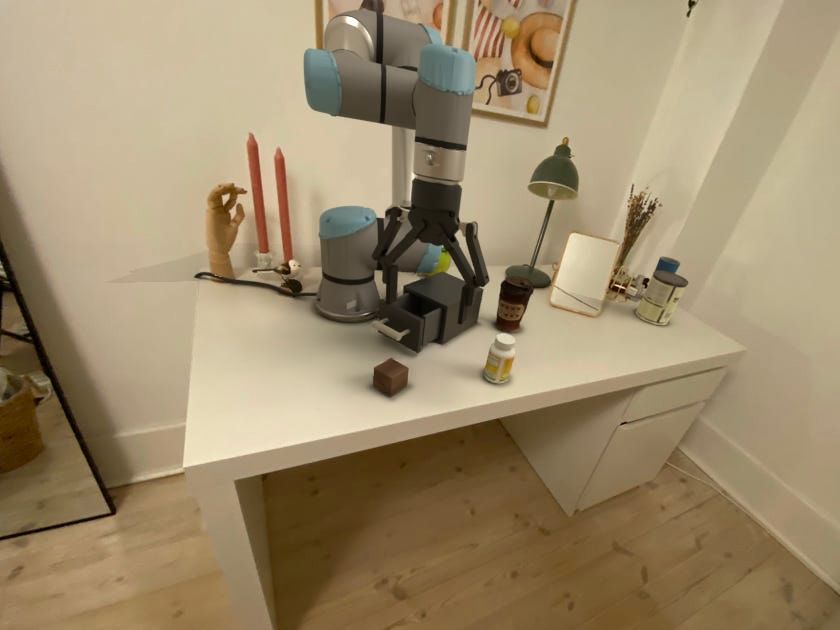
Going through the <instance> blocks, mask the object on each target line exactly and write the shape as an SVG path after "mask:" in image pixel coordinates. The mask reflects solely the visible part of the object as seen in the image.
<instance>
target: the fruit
mask: <svg viewBox="0 0 840 630" xmlns="http://www.w3.org/2000/svg"><path fill="white" fill-rule="evenodd" d="M451 264H452V258H451V256H450V254H449V253H448V252H447V251H446V250H445V248H444V247H443V246H442V249H441V254H440V258H439V262H438V264H437V267H436V268H435V270H434V271H433V272H431V273H425V274H426V276H427V277H428V276H431V275H434V274H436V273H439V272H442V271H443V272H445V273H447V272H448V271H449V269H450V267H451Z"/></svg>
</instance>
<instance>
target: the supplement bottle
mask: <svg viewBox="0 0 840 630" xmlns="http://www.w3.org/2000/svg"><path fill="white" fill-rule="evenodd" d="M515 345H516V339H515V337H514V336H513V335H511V334H509V333H504V332H503V333H498V334H496V336H495V339H494V342H493V343H491V344H490V346H489V349H488V352H487V353H488V354H487V358H486V362H485V366H484V370H483V376H484V378H485V380H487V381H488V382H491V383H493V384H503V383H506V382H507V381H508V380H509V378H510V374H511V370H512V368H513V367H512V366H513V363H514V360H515V357H516V348H515Z"/></svg>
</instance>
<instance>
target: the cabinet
mask: <svg viewBox="0 0 840 630" xmlns="http://www.w3.org/2000/svg"><path fill="white" fill-rule="evenodd" d="M464 285H466V282H465V281H464V279H463V278H459V277H457V276H455V275H452V274H451V273H447V272H446V273H445V272H443V271H442V272H439V273H436V274H434V275H431V276H428V275H427V276H426V277H425V276H424V277H422V278H420V279H418V280H415V281H412V282H409V283H406V284H404V285H402V295H403V294H405V293H408V292H410V293H412V294H415V295H417V296H419V297H421V298H423V299H425V300H427V301H429V302H431V303H433V304H436V305H438V306H440V307H442V308H444V314H443V321H442V329H441V336H439V337H438V338H436V339H434V340H433V341H435V342H437V343H438V344H441V345H444V344H446V343H447V342H449V341H450V340H452V339H454V338H456V337H457V336H459V335H460V334H462V333H464V332H465V331H467V330H469V329H470V328H472V327H473V326H475V325H477V324H478V320H479V314H480V311H481V310H480V309H481V304H482V301H483V295H484V288H483V287H477V291H476V297H475V302H474V304H473V305H472V306H468V313H467V319H466V320H465V321H464V322H463V324H462V325H461V324H457V322H458V315H459V308H460V300H461V293H462V287H463V286H464Z"/></svg>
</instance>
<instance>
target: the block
mask: <svg viewBox="0 0 840 630" xmlns="http://www.w3.org/2000/svg"><path fill="white" fill-rule="evenodd" d="M409 372H410V368H409V367H408V366H406V365H404V364H403V363H401V362H400V361H397V360H396V359H394V358H393V357H390V358H388V359H386V360H385V361H383V362H381V363H378V364H377V365H375V366H373V375H372V376H373V378H372V379H373V380H372V381H373V382H372V386H373V387H374V388H375V389H377V390H378V391H380V392H381V393H382V394H385V395H386V396H388V397H389V398H392V397H394V396H395V395H397V394H398V393H400V392H401V391H404V389H406V388H407V387H408V383H409Z"/></svg>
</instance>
